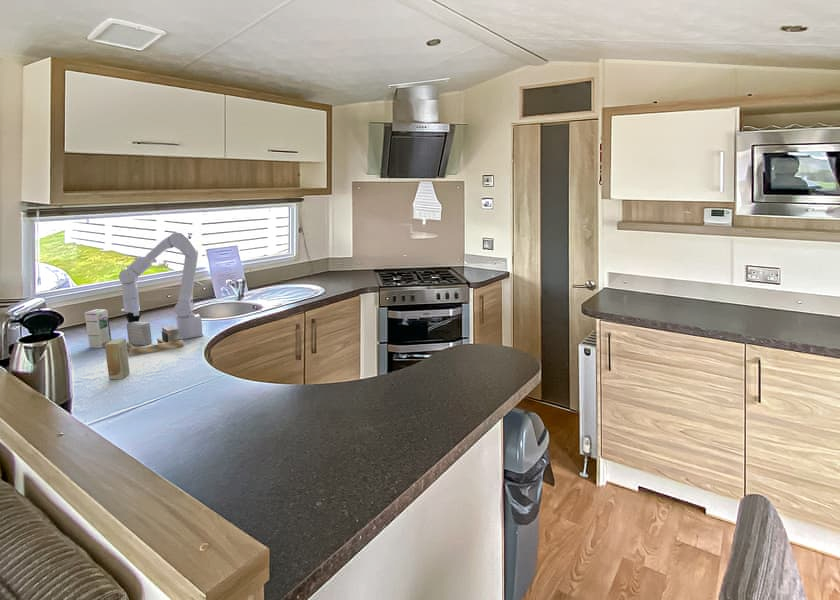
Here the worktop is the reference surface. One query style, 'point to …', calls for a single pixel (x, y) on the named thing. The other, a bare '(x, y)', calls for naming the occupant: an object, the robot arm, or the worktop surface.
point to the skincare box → (117, 358)
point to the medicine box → (139, 333)
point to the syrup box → (98, 328)
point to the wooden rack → (160, 342)
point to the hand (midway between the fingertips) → (134, 330)
